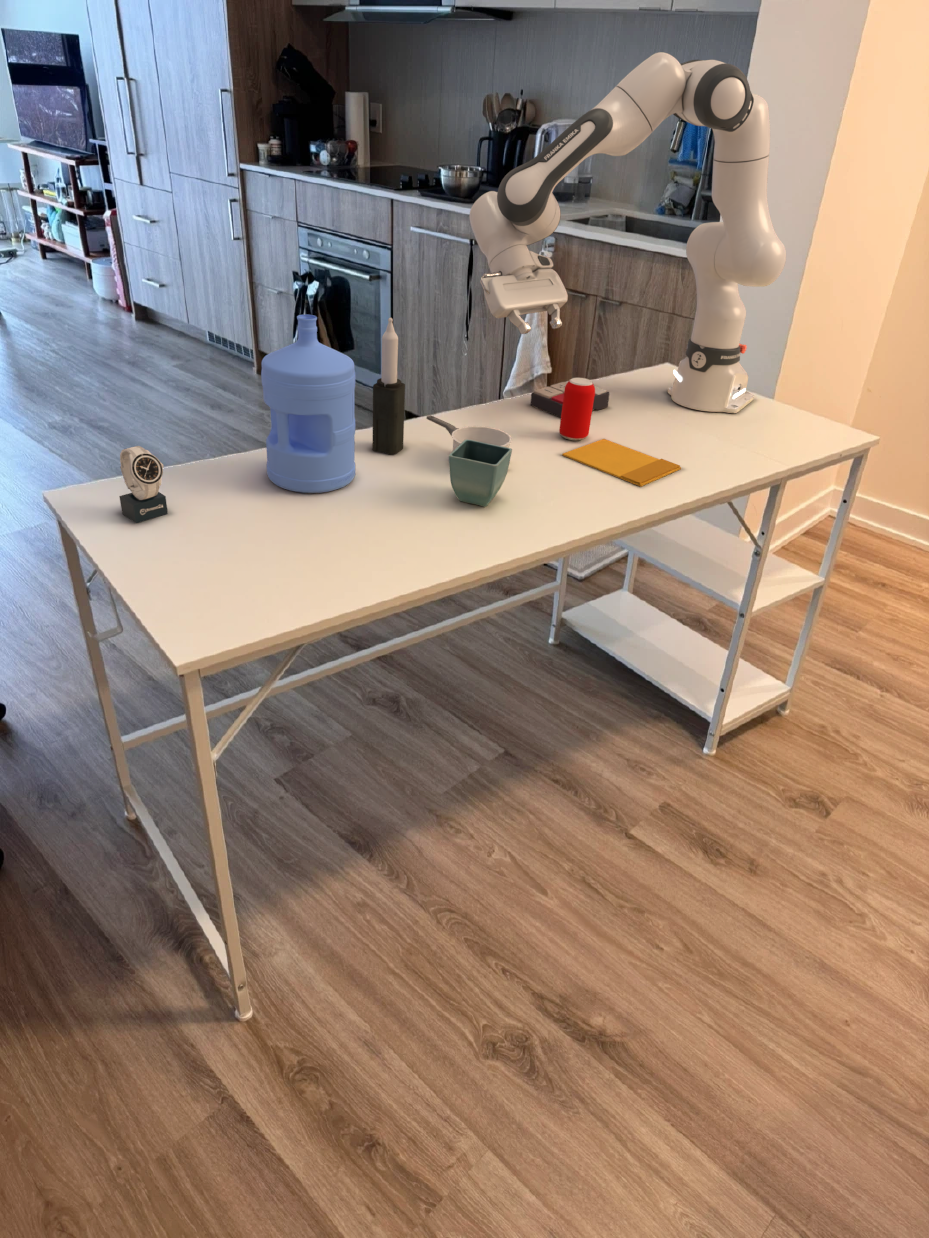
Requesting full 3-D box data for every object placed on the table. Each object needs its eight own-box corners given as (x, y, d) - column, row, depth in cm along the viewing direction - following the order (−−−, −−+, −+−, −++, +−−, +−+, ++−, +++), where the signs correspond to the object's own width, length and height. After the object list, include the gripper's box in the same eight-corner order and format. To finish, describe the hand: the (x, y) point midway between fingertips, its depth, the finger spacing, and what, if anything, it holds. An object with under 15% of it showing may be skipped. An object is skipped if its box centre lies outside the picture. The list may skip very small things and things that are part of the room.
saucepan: (447, 436, 177) (448, 409, 174) (521, 466, 166) (524, 439, 163) (406, 448, 169) (407, 421, 166) (481, 481, 158) (484, 452, 155)
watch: (142, 527, 134) (132, 461, 128) (116, 510, 139) (105, 445, 133) (174, 517, 138) (166, 453, 132) (148, 501, 142) (139, 437, 136)
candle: (370, 450, 167) (371, 318, 154) (382, 442, 171) (384, 312, 158) (393, 455, 166) (397, 322, 152) (405, 447, 170) (409, 317, 156)
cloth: (603, 440, 181) (604, 437, 180) (680, 469, 170) (681, 466, 170) (561, 455, 172) (562, 452, 172) (640, 486, 161) (641, 483, 161)
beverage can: (561, 430, 184) (569, 374, 178) (590, 435, 183) (598, 379, 176) (555, 439, 179) (563, 382, 173) (585, 444, 178) (593, 387, 171)
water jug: (310, 453, 164) (305, 300, 149) (373, 476, 157) (375, 319, 142) (248, 477, 153) (236, 315, 138) (313, 503, 146) (308, 335, 131)
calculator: (530, 389, 194) (575, 376, 203) (529, 407, 197) (573, 393, 205) (566, 403, 188) (610, 388, 196) (564, 422, 190) (608, 407, 199)
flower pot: (492, 514, 147) (497, 465, 142) (444, 503, 149) (447, 455, 144) (508, 495, 154) (513, 448, 149) (462, 485, 156) (465, 438, 151)
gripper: (485, 264, 170) (515, 327, 169) (556, 258, 182) (584, 316, 181) (469, 283, 175) (497, 344, 174) (538, 276, 187) (565, 332, 186)
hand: (542, 329), depth 178 cm, fingers open, 8 cm apart
